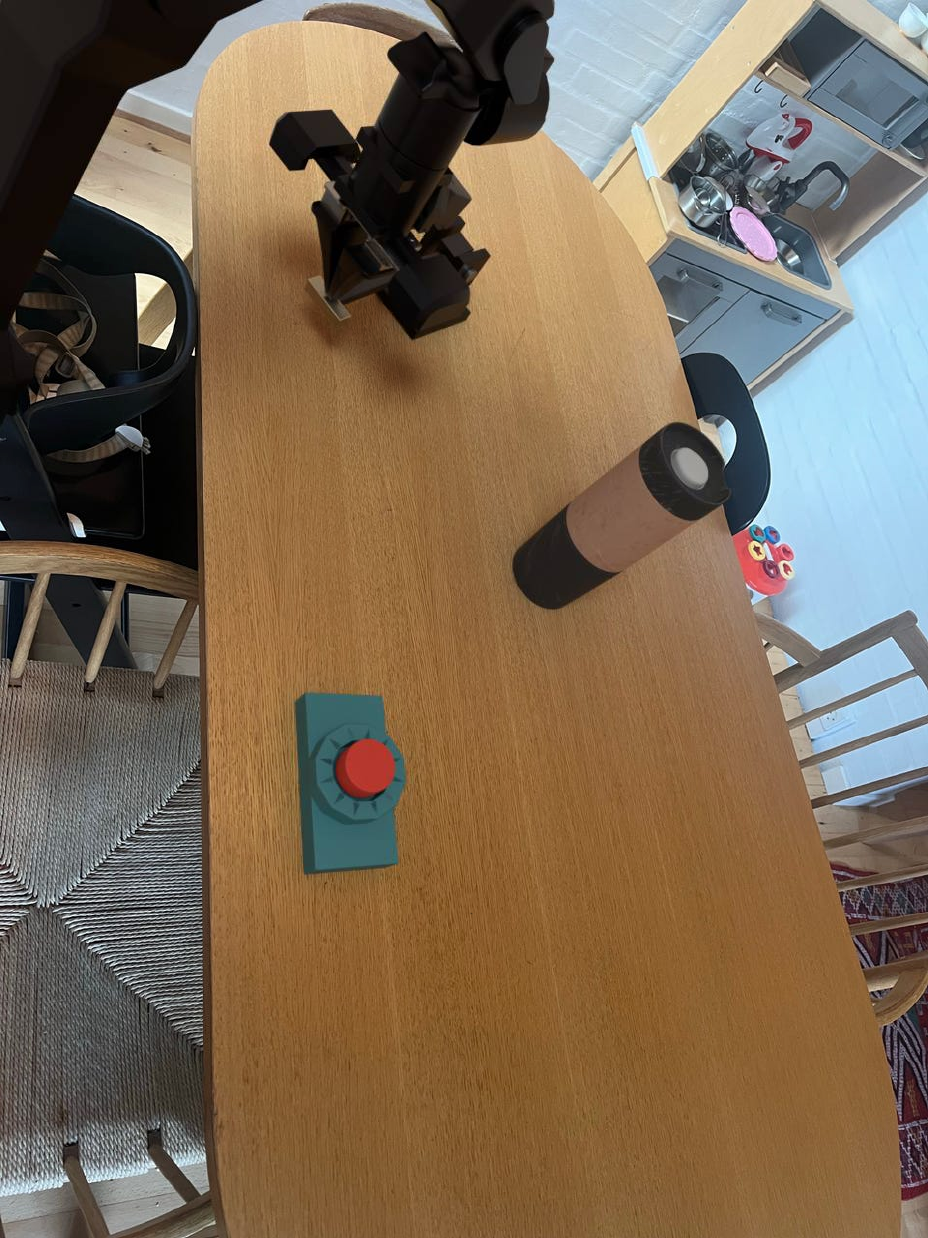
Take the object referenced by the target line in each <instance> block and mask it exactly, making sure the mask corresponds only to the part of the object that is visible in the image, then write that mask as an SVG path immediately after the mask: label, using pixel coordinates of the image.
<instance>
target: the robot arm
mask: <svg viewBox="0 0 928 1238" xmlns="http://www.w3.org/2000/svg"><path fill="white" fill-rule="evenodd" d="M263 1H264V0H0V427H1V426H2V424H3V423H4V421H5V418H6V415H7V416H10V417H14V416H16V415H17V414H18V404H19V402H20V398H21V396H22V395H23V394H24V392H25V390H26V389H27V388H28V386H30V384H31V383H32V381H33V380H34V378H35V373H36V367H37V364H36V362H35V361H34V359H33V358H32V357H31V355H30V354H29V353H28V351H27V350H26V348H24V346H23V344H22V343H21V342H20V341H19V339H18V338H17V337H16V335H15V334H14V333H13V332H12V330H11V329H10V324H11V321H12V319H13V317H14V315H15V313H16V311H17V309H18V307H19V305H20V303H21V301H22V299H23V297H24V295H25V293H26V291H27V289H28V287H29V285H30V283H31V281H32V279H33V277H34V275H35V273H36V272H37V268H38V267H39V264H40V263H41V261H42V259H43V257H44V255H45V254H46V253H45V252H46V251H47V248H48V247H49V245H50V243H51V241H52V239H53V237H54V235H55V233H56V231H57V229H58V227H59V224H60V223H61V221H62V219H63V217H64V215H65V213H66V211H67V209H68V206H69V204H70V203H71V200H72V199H73V197H74V195H75V193H76V191H77V189H78V187H79V185H80V183H81V180H82V179H83V177H84V174H85V172H86V171H87V169H88V168H89V167H88V166H89V165H90V163H91V161H92V160H93V159H92V158H93V156H94V155H95V153H96V151H97V148H98V147H99V144H100V143H101V140H102V138H103V137H104V135H105V133H106V131H107V128H108V127H109V124H110V123H111V120H112V118H113V116H114V115H115V113H116V110H117V109H118V107H119V104H120V103H121V101H122V99H123V98H124V96H125V95H126V93H127V92H128V91H129V90H131V89H134V88H136V87H139V86H141V85H143V84H146V83H148V82H150V81H154V80H156V79H158V78H161V77H163V76H165V75H169V74H170V73H173V72H176V71H178V70H180V69H183V68H184V67H186V66H187V65H188V64H189V62H190V61H191V59H192V58H193V57H194V55H195V54H196V53H197V51H198V50H199V48H200V47H201V46H202V45H203V43H204V41H206V39H207V38H208V36H209V35H210V33H211V32H212V31H213V29H214V28H215V26H216V25H217V24H218V22H219V21H222V20H224V19H226V18H228V17H231V16H233V15H235V14H237V13H239V12H241V11H243V10H246V9H247V8H250V7H252V6H254V5H256V4H258V3H260V2H261V3H262V2H263ZM423 1H424V2H425V4H426V6H427V7H428V8H429V9H430V10H431V12H432V13H433V15H434V16H435V17H436V18H437V19H438V21H439V22H440V23H441V26H443V27H444V29H445V30H446V31H447V33H448V35H450V37H451V38H452V39H453V40H454V42H455V43H456V44H457V45H458V47H459V48H458V47H457V46H456V45H454V44H453V43H450V42H448V41H443V40H434V39H433V38H432V36H431V35H430V33H429V32H428V31H425V30H424V31H421V32H420V33H419V34H418V35H417V36H415V37H412V38H409V39H404V40H400V41H398V42H397V43H395V44H393V45H392V46H390V47H389V49H388V50H387V53H386V57H387V59H388V60H389V62H390V63H391V65H392V66H393V67H394V68H395V70H396V71H397V72H398V74H397V76H396V77H395V80H394V82H393V84H392V86H391V88H390V91H389V93H388V95H387V96H386V99H385V101H384V103H383V105H382V107H381V110H380V112H379V113H378V116H377V118H376V120H375V122H374V124H373V125H365V126H360V128H359V130H358V132H357V134H356V136H355V137H354V136H353V135H352V133H351V132H350V131H349V130H348V128H347V127H346V126H345V125H344V124H343V122H342V120H341V119H340V118H339V116H338V115H337V114H336V113H335V112H334V111H333V109H331V108H330V109H316V110H299V111H286V112H283V114H282V115H280V116H279V117H278V118H277V119H276V120H275V123H274V126H273V128H272V131H271V134H270V137H269V141H268V145H269V148H270V149H271V150H272V151H273V153H274V154H275V155H276V156H277V157H278V158H279V160H280V162H281V163H282V164H283V165H284V167H285V168H286V170H288V172H300V171H305V170H306V168H307V165H308V163H309V160H313V161H314V162H315V163H316V164H317V166H318V167H319V169H320V170H321V171H322V172H323V173H324V175H325V176H326V177H327V179H328V181H325V182H324V184H323V188H324V192H323V194H322V196H321V199H320V200H314V201H313V202H312V203H311V206H310V211H311V213H312V214H313V216H314V217H315V220H316V227H317V234H318V239H319V246H320V251H321V252H320V254H321V261H322V275H323V276H322V278H323V280H324V289H325V294H326V296H327V297H328V298H329V299H330V301H332V300H336V299H339V298H340V297H342V296H343V295H344V294H346V293H347V292H348V291H350V290H351V289H352V288H354V287H355V286H357V285H358V284H359V283H361V282H362V281H363V280H365V279H367V280H372V279H376V278H380V277H383V276H387V275H391V274H394V273H395V274H394V275H393V277H392V278H391V280H390V282H389V283H388V293H389V301H390V302H391V303H392V305H393V306H394V307H395V308H396V310H397V311H398V312H399V314H400V315H401V316H402V318H403V319H404V320H405V321H406V323H407V324H408V325H409V327H411V328H413V329H415V330H418V331H421V330H423V329H426V328H429V327H432V326H435V325H438V324H440V323H443V322H446V321H449V320H452V319H454V318H457V317H459V316H460V315H461V313H462V312H463V311H464V309H465V308H466V307H467V308H468V305H469V304H470V301H471V288H470V286H468V285H467V284H466V282H465V281H464V280H463V279H462V277H461V276H460V275H459V273H458V272H457V271H456V270H455V268H454V267H453V266H452V264H451V263H450V262H449V261H448V259H447V258H446V257H445V255H444V254H442V255H438V256H434V257H431V258H427V259H423V258H422V257H421V256H420V254H419V253H418V252H417V251H419V250H420V249H421V247H422V245H421V244H420V240H418V238H417V237H416V236H415V235H414V233H413V232H412V231H413V230H415V232H416V233H417V234H418V235H420V234H425V232H428V231H429V229H430V228H431V226H432V224H433V223H434V224H437V225H441V226H442V228H443V229H447V228H448V227H449V226H450V225H451V224H452V222H453V221H454V220H455V219H456V218H457V217H458V216H460V215H461V214H462V212H463V211H464V210H465V209H466V207H467V206H468V205H469V204H470V203H471V202H472V201H473V198H472V195H471V194H470V193H469V191H468V190H467V189H466V188H465V187H464V185H463V184H462V182H461V181H460V180H459V179H458V177H457V176H456V174H455V173H454V172H453V171H452V169H451V168H450V167H449V166H450V165H451V163H452V161H453V159H454V157H455V155H456V154H457V153H458V151H459V148H460V147H461V145H462V144H463V143H464V144H468V145H470V146H474V147H483V146H492V145H500V144H509V143H518V142H524V141H527V140H531V138H533V137H535V136H536V135H537V134H538V132H540V130H541V129H542V128H543V126H544V124H545V123H546V120H547V114H548V112H549V104H550V100H551V99H550V98H551V94H550V91H551V90H550V84H549V79H548V74H547V73H548V72H549V70H550V69H551V67H552V66H553V64H554V63H555V57H554V55H553V54H552V53H551V52H550V51H549V49H548V48H547V45H548V41H549V35H550V26H549V24H548V21H549V20H550V19H552V18H553V17H554V15H555V10H556V9H555V8H556V7H555V5H556V2H555V0H423ZM361 149H362V150H361Z"/></svg>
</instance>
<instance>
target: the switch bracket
mask: <svg viewBox="0 0 928 1238" xmlns="http://www.w3.org/2000/svg"><path fill="white" fill-rule="evenodd" d="M466 224H467V223H466V221H465V220H464V219H463V217H462V216H461V215H458V217H457V218H456V219H455V220H454V221H453V222H452V224H451V225H450V226H449V227H448V228H447V229H443V228H442V226H441V225H437V224H434V223H433V224H432V226H431V228H430V229H429V231H428V232H425V233H423V235H422V237H421V239H420V240H419V242H420V244H421V245H422V247H421V249H420V250H419V251H417V252H418V253H419V254H420V256H421V257H422V256H425V255H428V254H430V253H433V252H434V251H435V250H436V248H437V246H438V244H439V242H440V240H441V239H443V238H445V237H448V236H450V235H453V234H456V233H458V232H461V233H462V230H463V229H464V227H465V226H466ZM491 257H492V255H491V253H490V252H489V251H488V250H487V249H486V247H484V248H483V247H482V248H479V249H476V250H473V251H472V252H469V253H465V254H461V255H458V256H457V257H456V259H455V260H454V262H453V263H452V266H453V267H454V268H455V270H456V271H457V272H458V273H459V275H460V276H461V277H462V279H463V280H464V281H465V282H466V284H467V285H468V286H469V287H470V286H471V285H472V284H473V283H474V280H475V279H476V278H477V276H478V275H479V274H480V272H481V271H482V269H483V268H484V267H485V265H486V263H488V261H489V260H490V258H491ZM375 294H376V295H377V297H378V298H379V299H380V300H381V302H382V303H383V304H384V306H385V307H386V308H387V309H388V311H389V312H390V313H391V314H392V316H393V318H395V320H396V321H397V322H398V324H399V325H400V326H401V327H402V329H403V330H404V331H405V333H406V334H407V336H408V337H409V338H410V339H411V340H412V341H413V340H416V339H418V338H421V337H424V336H427V335H429V334H432V333H435V332H437V331H440V330H443V329H446V328H448V327H451V326H455V325H457V324H460V323H462V322H465V321H467V320H468V318H469V317H470V315H471V314H472V312H471V310H470V308H468V306H467V307H466V308H465V309H464V311H463V312H462V313H461V315H460V316H459V317H457V318H454V319H452V320H449V321H446V322H443V323H440V324H438V325H435V326H432V327H429V328H426V329H423V330H421V331H418V330H415V329H413V328H411V327H409V325H408V324H407V323H406V321H405V320H404V319H403V318H402V316H401V315H400V314H399V312H398V311H397V310H396V308H395V307H394V306H393V305H392V303H391V302H390V301H389V293H388V288H386V289H383V290H381V291H378V292H376V293H375Z"/></svg>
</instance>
